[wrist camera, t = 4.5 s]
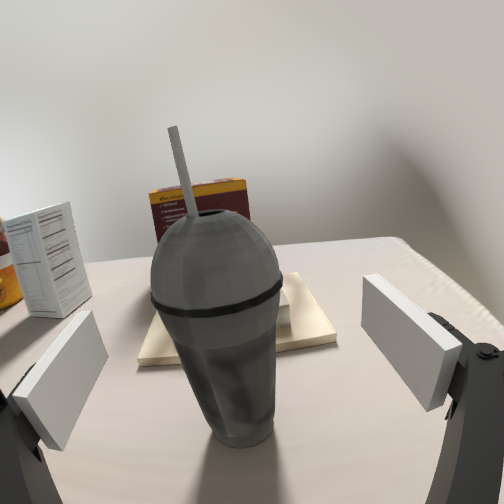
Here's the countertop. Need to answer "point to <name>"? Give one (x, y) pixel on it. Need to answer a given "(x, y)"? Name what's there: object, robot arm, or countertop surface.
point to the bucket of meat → (7, 274)
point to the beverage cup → (221, 312)
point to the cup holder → (287, 326)
